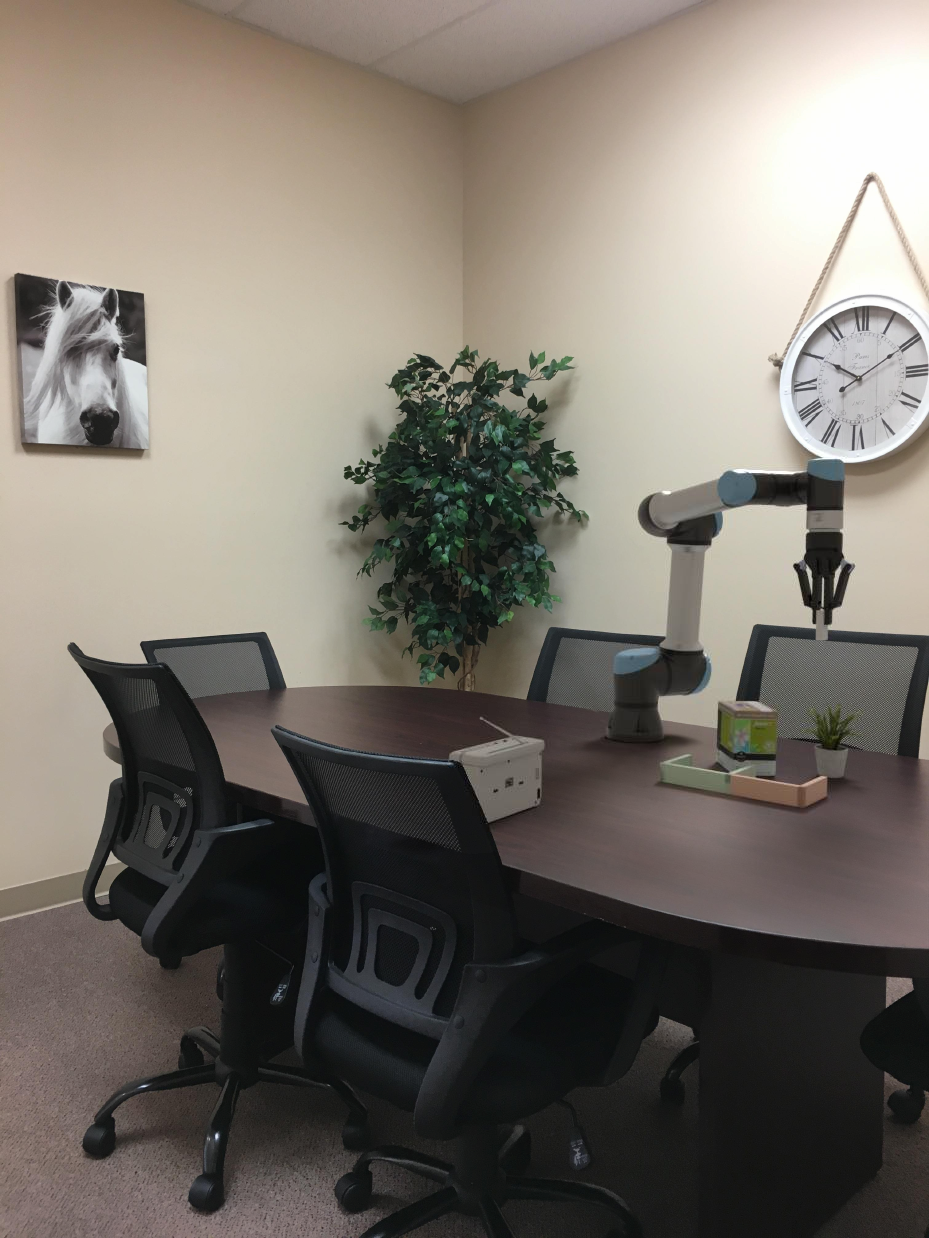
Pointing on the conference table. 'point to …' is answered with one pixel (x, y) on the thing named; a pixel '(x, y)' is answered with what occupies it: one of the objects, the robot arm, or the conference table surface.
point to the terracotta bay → (779, 790)
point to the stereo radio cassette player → (504, 773)
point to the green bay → (699, 775)
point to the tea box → (747, 736)
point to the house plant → (831, 743)
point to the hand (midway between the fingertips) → (821, 639)
